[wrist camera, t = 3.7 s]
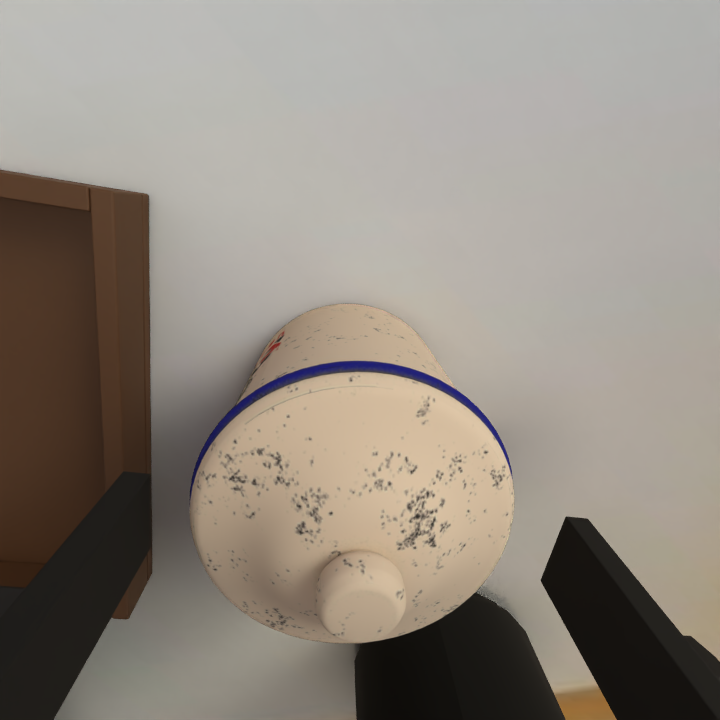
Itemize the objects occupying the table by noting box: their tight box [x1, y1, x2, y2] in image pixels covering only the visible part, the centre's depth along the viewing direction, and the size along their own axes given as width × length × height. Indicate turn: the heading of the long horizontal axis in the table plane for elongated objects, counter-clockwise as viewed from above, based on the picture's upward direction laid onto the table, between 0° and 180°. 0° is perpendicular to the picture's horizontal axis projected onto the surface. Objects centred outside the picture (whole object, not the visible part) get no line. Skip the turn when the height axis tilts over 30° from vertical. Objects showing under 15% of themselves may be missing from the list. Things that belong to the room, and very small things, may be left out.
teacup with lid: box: [189, 304, 514, 643], centre depth 15 cm, size 12×9×12 cm
